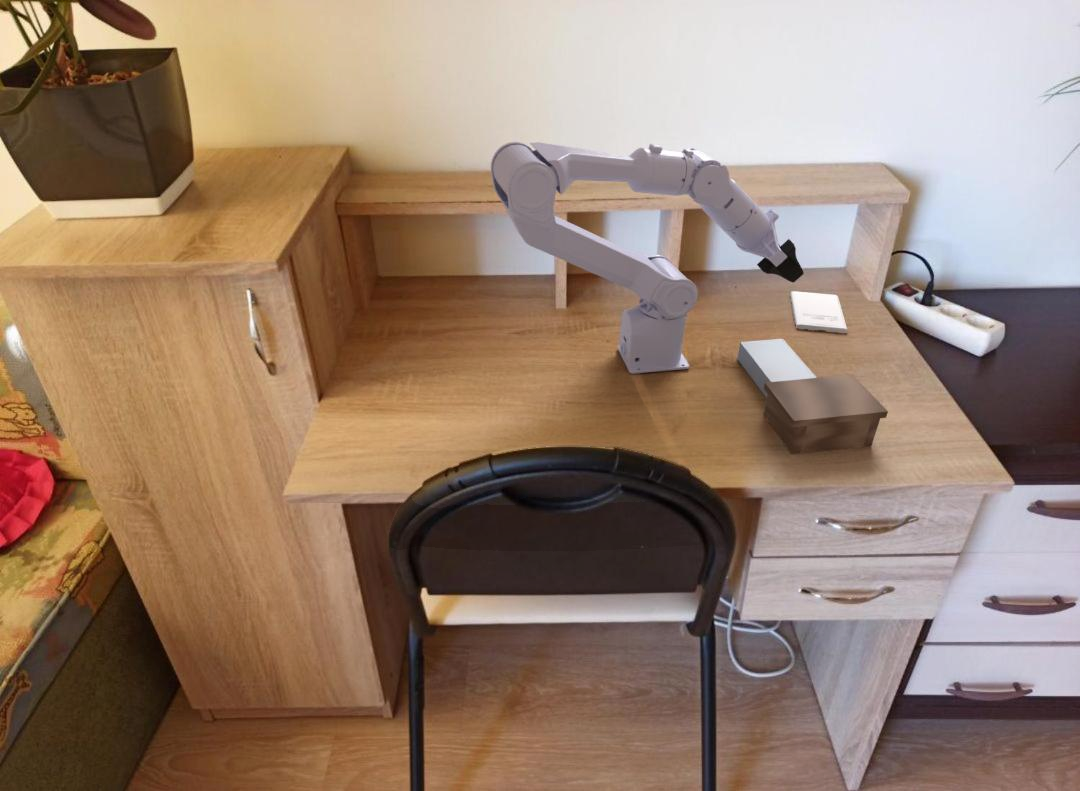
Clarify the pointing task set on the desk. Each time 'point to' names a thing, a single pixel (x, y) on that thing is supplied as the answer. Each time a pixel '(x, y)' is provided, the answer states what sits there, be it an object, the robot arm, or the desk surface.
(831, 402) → the brown lidded box
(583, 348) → the desk surface
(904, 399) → the desk surface
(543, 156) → the robot arm
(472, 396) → the desk surface
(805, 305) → the external hard drive
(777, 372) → the brushed metal plate
